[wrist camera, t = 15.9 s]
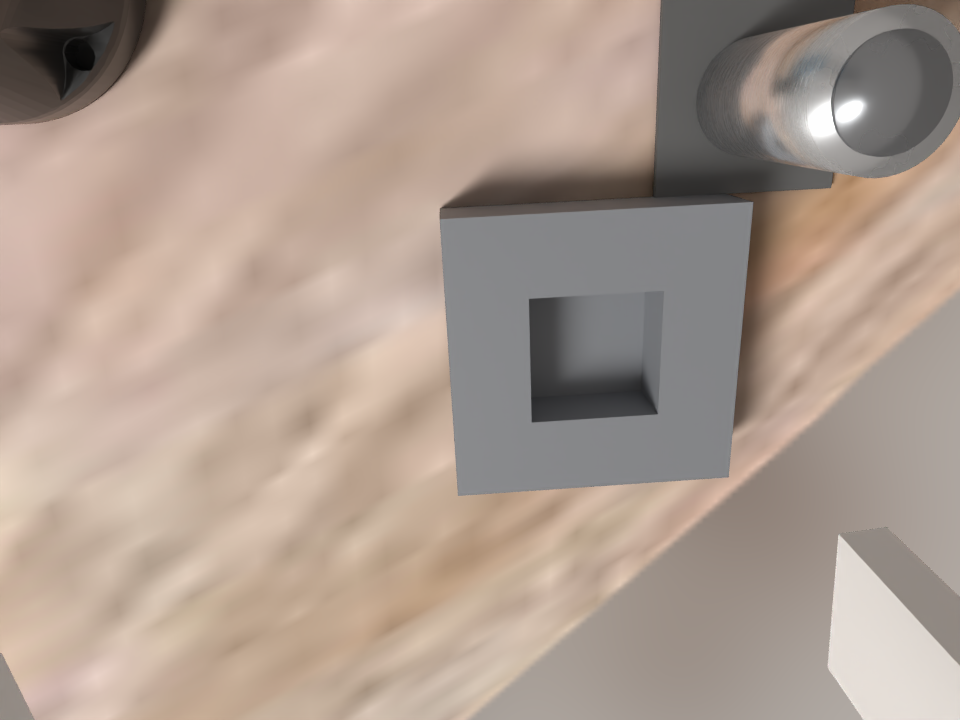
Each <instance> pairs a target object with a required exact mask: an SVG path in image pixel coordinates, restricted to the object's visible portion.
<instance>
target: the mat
mask: <svg viewBox="0 0 960 720" xmlns="http://www.w3.org/2000/svg"><path fill="white" fill-rule="evenodd" d="M854 5H855V0H661V12H660V36H659V61H658V86H657V111H656V136H655V161H654V186H653V197H655V198H657V197H675V196H694V195H712V194H730V193H748V192H767V191H785V190H803V189H822V188H831V185H832V177H833V172H829V171H823V170H817V169H812V168H806V167H800V166H794V165H788V164H782V163H777V162H771V161H765V160H759V159H753V158H748V157H742V156H736V155H731V154H728V153H725V152H723V151H721V150H720V149H718V148H717V147H715V146H714V145H713V144H712V143H711V142H710V141H709V140H708V139H707V137H706V136H705V135H704V133H703V131H702V129H701V127H700V124H699V121H698V117H697V111H696V98H697V91H698V87H699V84H700V81H701V78H702V76H703V74H704V72H705V70H706V68H707V67H708V65H709V64H710V62H711V61H712V60H713V59H714V57H715V56H716V55H717V54H718V53H719V52H720V51H722V50H723V49H724V48H726V47H727V46H728V45H730V44H732V43H734V42H736V41H738V40H740V39H743V38H747V37H751V36H755V35H760V34H765V33H769V32H774V31H778V30H783V29H787V28H792V27H796V26H801V25H806V24H810V23H815V22H819V21H824V20H828V19H833V18H837V17H842V16H847V15H851V14H853V13H854Z"/></svg>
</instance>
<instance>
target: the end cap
mask: <svg viewBox="0 0 960 720" xmlns="http://www.w3.org/2000/svg"><path fill="white" fill-rule="evenodd" d="M696 111H697V117H698V121H699V124H700V127H701V129H702V131H703V133H704V135H705V136H706V137H707V139H708V140H709V141H710V142H711V143H712V144H713V145H714V146H715V147H717V148H718V149H720V150H721V151H723V152H725V153H728V154H731V155H736V156H742V157H748V158H753V159H759V160H765V161H771V162H777V163H782V164H788V165H794V166H800V167H806V168H812V169H817V170H823V171H829V172H835V173H841V174H846V175H852V176H858V177H864V178H881V177H888V176H892V175H896V174H899V173H901V172H904V171H906V170H908V169H910V168H912V167H914V166H916V165H918V164H919V163H920V162H922V161H923V160H925V159H926V158H927V157H929V156H930V155H931V154H932V153H933V152H934V151H935V150H936V149H937V148H938V147H939V146H940V145H941V144H942V143H943V142H944V141H945V139H946V138H947V137H948V135H949V134H950V133H951V131H952V129H953V128H954V126H955V125H956V123H957V121H958V119H959V117H960V34H959V32H958V30H957V29H956V28H955V26H954V25H953V24H952V23H951V22H950V21H949V20H948V19H947V18H945V17H944V16H943V15H942V14H940V13H938V12H936V11H935V10H933V9H930V8H927V7H924V6H919V5H914V4H900V5H892V6H888V7H883V8H879V9H874V10H869V11H865V12H860V13H856V14H851V15H847V16H842V17H837V18H833V19H828V20H824V21H819V22H815V23H810V24H806V25H801V26H796V27H792V28H787V29H783V30H778V31H774V32H769V33H765V34H760V35H755V36H751V37H747V38H743V39H740V40H738V41H736V42H734V43H732V44H730V45H728V46H727V47H726V48H724V49H723V50H722V51H720V52H719V53H718V54H717V55H716V56H715V57H714V59H713V60H712V61H711V62H710V64H709V65H708V67H707V68H706V70H705V72H704V74H703V76H702V78H701V81H700V84H699V87H698V91H697V98H696Z"/></svg>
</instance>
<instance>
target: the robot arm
mask: <svg viewBox="0 0 960 720" xmlns="http://www.w3.org/2000/svg"><path fill="white" fill-rule="evenodd" d="M145 5H146V0H0V125H13V124H33V123H41V122H47V121H51V120H55V119H59V118H62V117H64V116H67V115H70V114H72V113H74V112H76V111H79V110H80V109H82V108H84V107H86V106H87V105H89V104H90V103H92V102H93V101H95V100H96V99H97V98H98V97H100V96H101V95H102V94H103V93H104V92H105V91H106V90H107V89H108V88H109V87H110V86H111V85H112V84H113V83H114V82H115V81H116V79H117V78H118V77H119V76H120V74H121V73H122V71H123V70H124V68H125V67H126V65H127V63H128V61H129V60H130V58H131V56H132V54H133V51H134V49H135V47H136V44H137V41H138V39H139V35H140V32H141V28H142V24H143V19H144V13H145ZM828 668H829V670H830V672H831V673H832V674H833V676H834V677H835V679H836V680H837V682H838V683H839V685H840V686H841V688H842V689H843V691H844V692H845V693H846V695H847V696H848V698H849V699H850V701H851V702H852V704H853V705H854V707H855V708H856V709H857V711H858V712H859V714H860V715H861V717H862V718H863V720H960V597H959V596H958V595H957V594H956V593H955V592H954V591H953V590H952V589H951V588H950V587H949V586H948V585H946V583H944V581H942V580H941V579H940V578H939V577H938V576H937V575H936V574H935V573H934V572H933V571H932V570H931V569H930V568H929V567H928V566H927V565H926V564H924V562H922V560H921V559H919V558H918V557H917V556H916V555H915V554H914V553H913V552H912V551H911V550H910V549H909V548H908V547H907V546H906V545H905V544H904V543H903V542H902V541H901V540H900V539H899V538H898V537H897V536H896V535H895V534H893V533H892V532H891V531H890V530H889V529H888V528H887V527H884V528H877V529H870V530H862V531H855V532H849V533H842V534H839V536H838V548H837V560H836V572H835V584H834V596H833V608H832V620H831V632H830V644H829V657H828ZM0 720H34V718H33V716H32V714H31V712H30V710H29V708H28V705H27V703H26V701H25V699H24V697H23V695H22V693H21V691H20V689H19V687H18V685H17V683H16V681H15V679H14V677H13V675H12V673H11V671H10V669H9V667H8V665H7V663H6V661H5V659H4V657H3V655H2V653H0Z"/></svg>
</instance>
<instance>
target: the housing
mask: <svg viewBox="0 0 960 720" xmlns="http://www.w3.org/2000/svg"><path fill="white" fill-rule="evenodd" d="M752 211H753V202H752V201H749V200H745V199H742V198H738V197H735V196H732V195H728V194H712V195H694V196H675V197H657V198H655V197H639V198H621V199H602V200H584V201H566V202H547V203H529V204H511V205H492V206H474V207H456V208H440V230H441V245H442V261H443V276H444V291H445V306H446V321H447V336H448V351H449V366H450V381H451V396H452V411H453V426H454V441H455V456H456V471H457V486H458V496H463V495H477V494H492V493H506V492H521V491H536V490H550V489H565V488H579V487H594V486H609V485H623V484H638V483H652V482H667V481H681V480H696V479H711V478H725V477H729V466H730V455H731V444H732V433H733V422H734V411H735V400H736V389H737V377H738V366H739V355H740V344H741V333H742V322H743V311H744V300H745V289H746V278H747V267H748V256H749V245H750V234H751V222H752Z"/></svg>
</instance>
